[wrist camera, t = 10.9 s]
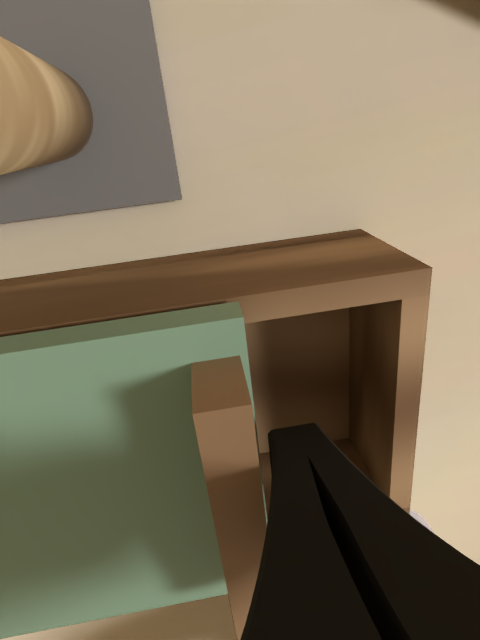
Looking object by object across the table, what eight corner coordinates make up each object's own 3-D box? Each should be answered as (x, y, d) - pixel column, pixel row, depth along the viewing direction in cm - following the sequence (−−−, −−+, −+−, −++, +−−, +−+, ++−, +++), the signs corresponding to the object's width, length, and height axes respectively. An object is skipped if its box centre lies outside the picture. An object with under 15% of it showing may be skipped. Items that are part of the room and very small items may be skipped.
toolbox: (357, 433, 20) (408, 522, 15) (-116, 516, 18) (-214, 641, 14) (360, 229, 16) (432, 267, 11) (-255, 315, 14) (-460, 401, 10)
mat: (181, 197, 14) (181, 199, 14) (-25, 224, 14) (-30, 227, 14) (146, -16, 12) (145, -21, 11) (-107, 8, 11) (-117, 4, 11)
